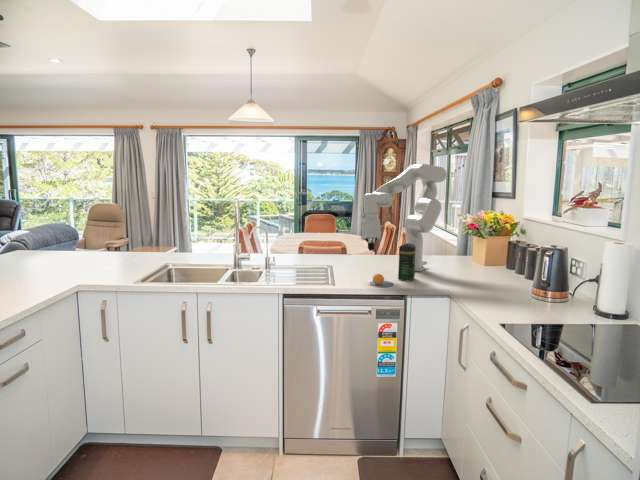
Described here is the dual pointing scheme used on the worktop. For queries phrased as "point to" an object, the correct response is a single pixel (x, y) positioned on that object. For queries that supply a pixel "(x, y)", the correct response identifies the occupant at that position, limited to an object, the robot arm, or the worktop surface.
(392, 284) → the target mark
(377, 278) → the ball
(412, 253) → the coffee jar
